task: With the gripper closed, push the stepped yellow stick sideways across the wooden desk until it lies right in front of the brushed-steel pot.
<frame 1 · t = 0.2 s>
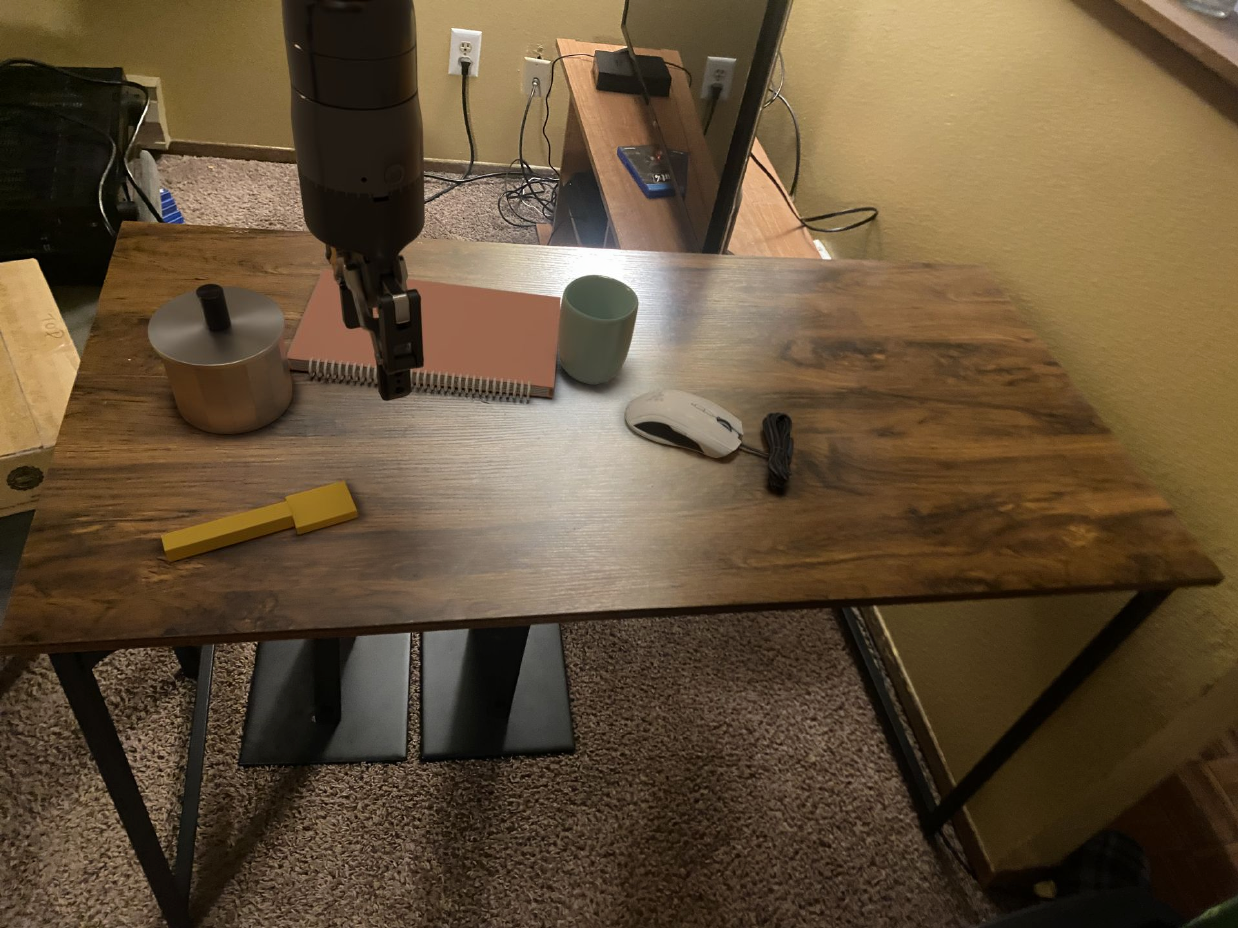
hand: (376, 359, 63), 18 cm above the table, tool pointing down, fingers open, 8 cm apart
pot: (236, 396, 82), on the table
notebook: (432, 342, 92), on the table
pot lid: (218, 328, 76), point 8 cm above the table, touching pot
cup: (589, 372, 93), on the table
computer mouse: (706, 440, 88), on the table
stepped yellow stick: (280, 522, 73), on the table
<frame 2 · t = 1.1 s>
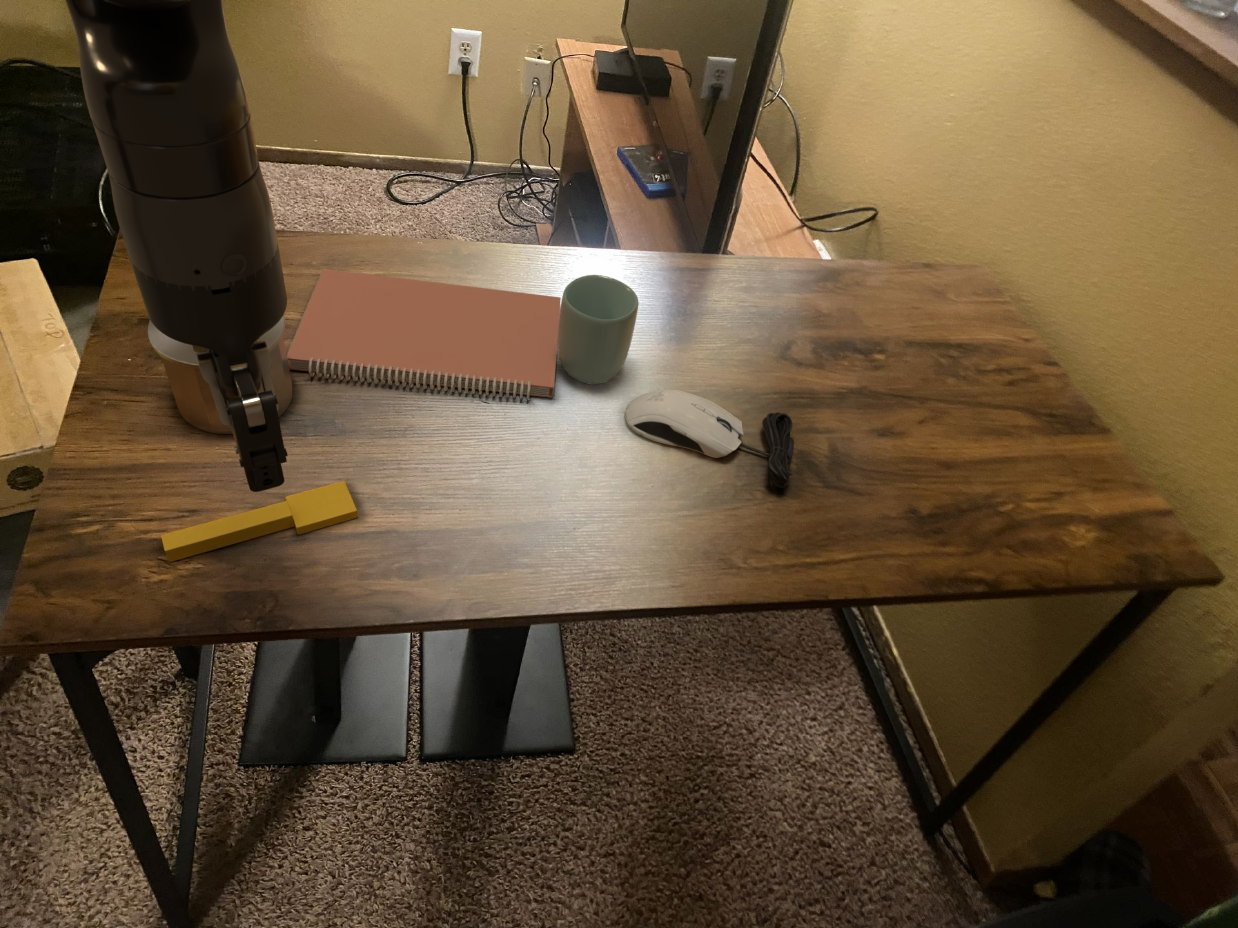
hand: (254, 448, 58), 16 cm above the table, tool pointing down, fingers open, 6 cm apart
nothing on the table moved.
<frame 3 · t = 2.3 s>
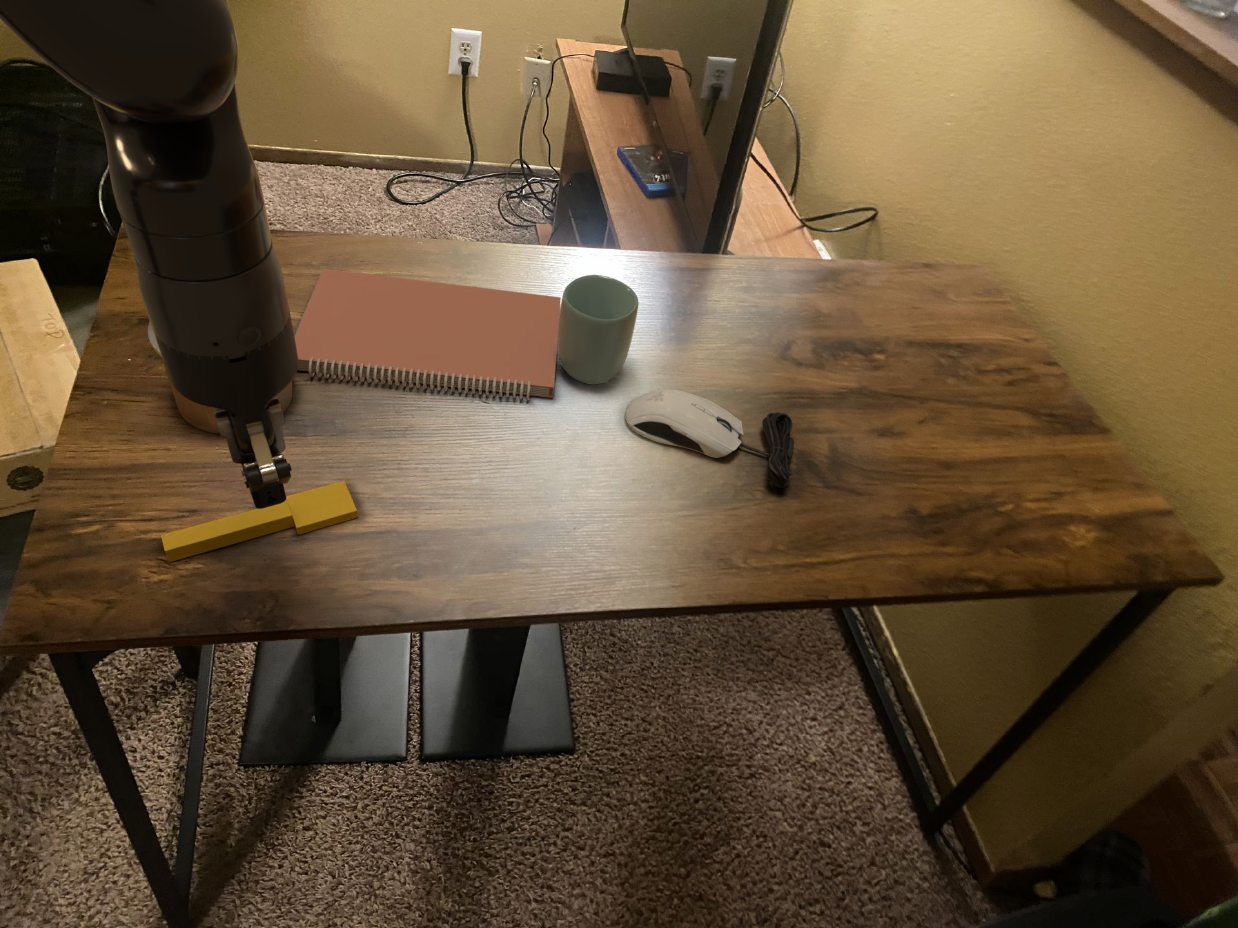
hand: (269, 499, 62), 10 cm above the table, tool pointing down, fingers closed
nothing on the table moved.
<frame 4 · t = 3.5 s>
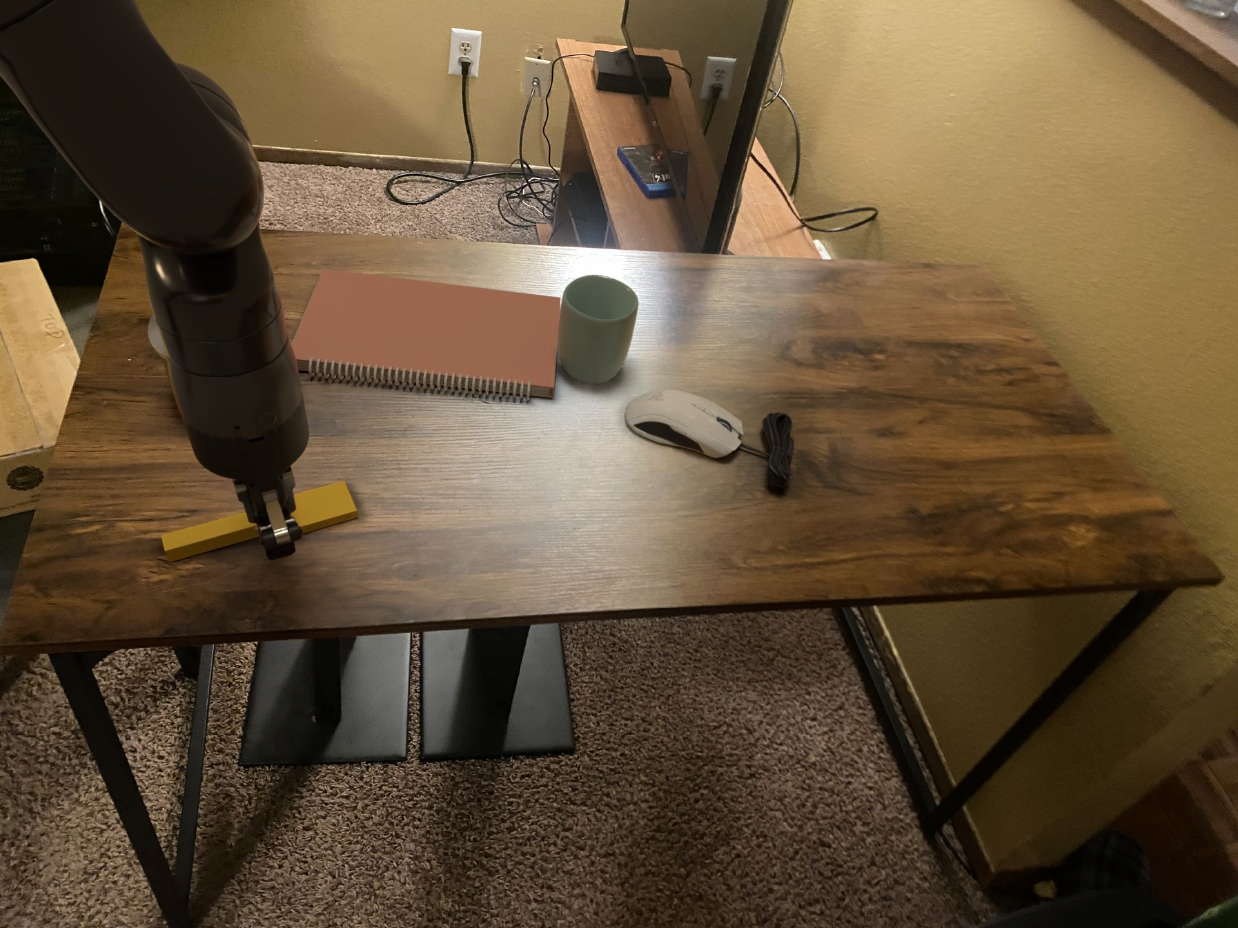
hand: (280, 550, 67), 3 cm above the table, tool pointing down, fingers closed
nothing on the table moved.
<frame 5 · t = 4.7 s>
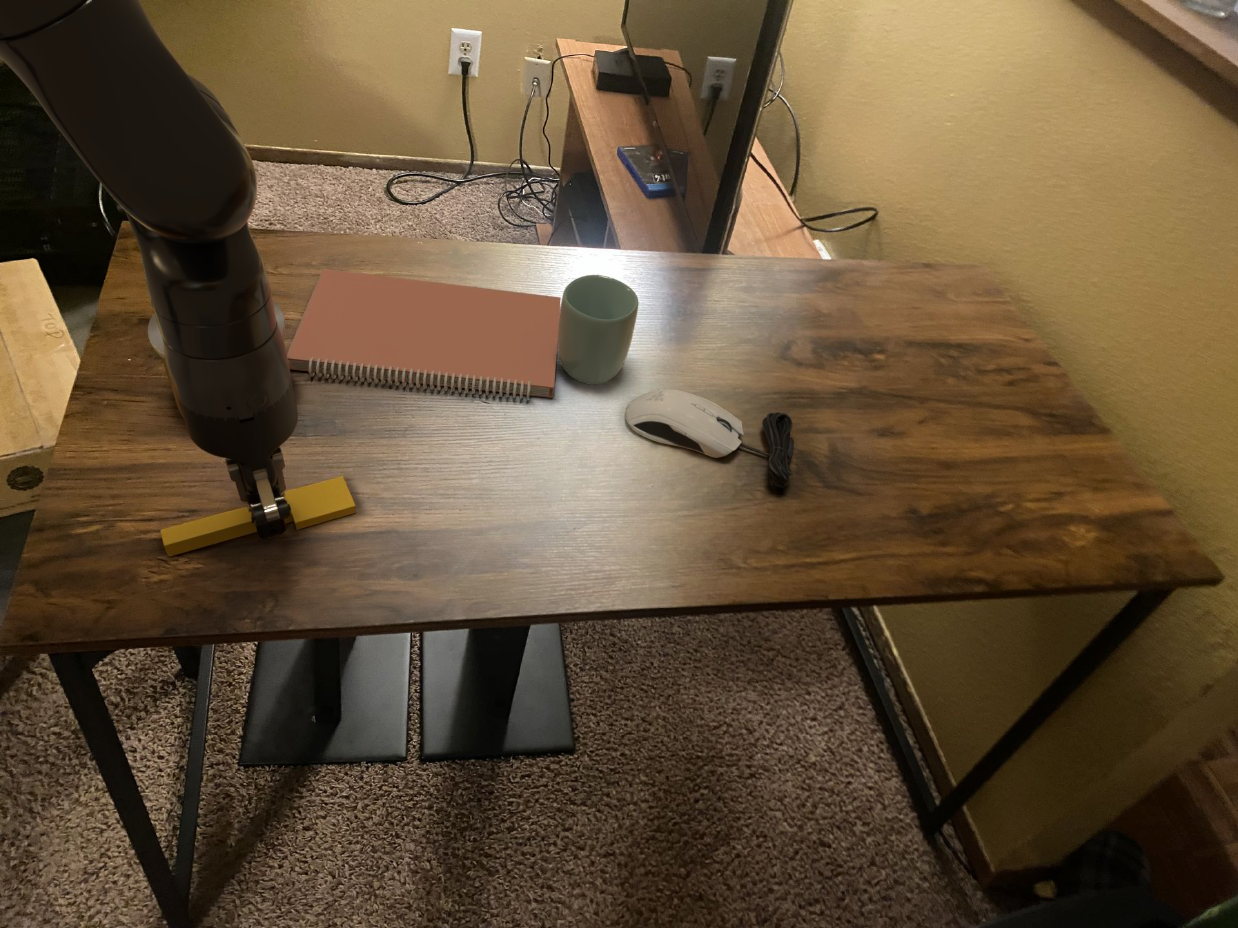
hand: (271, 530, 71), 1 cm above the table, tool pointing down, fingers closed
stepped yellow stick: (279, 517, 73), on the table, touching gripper
everything else where it was.
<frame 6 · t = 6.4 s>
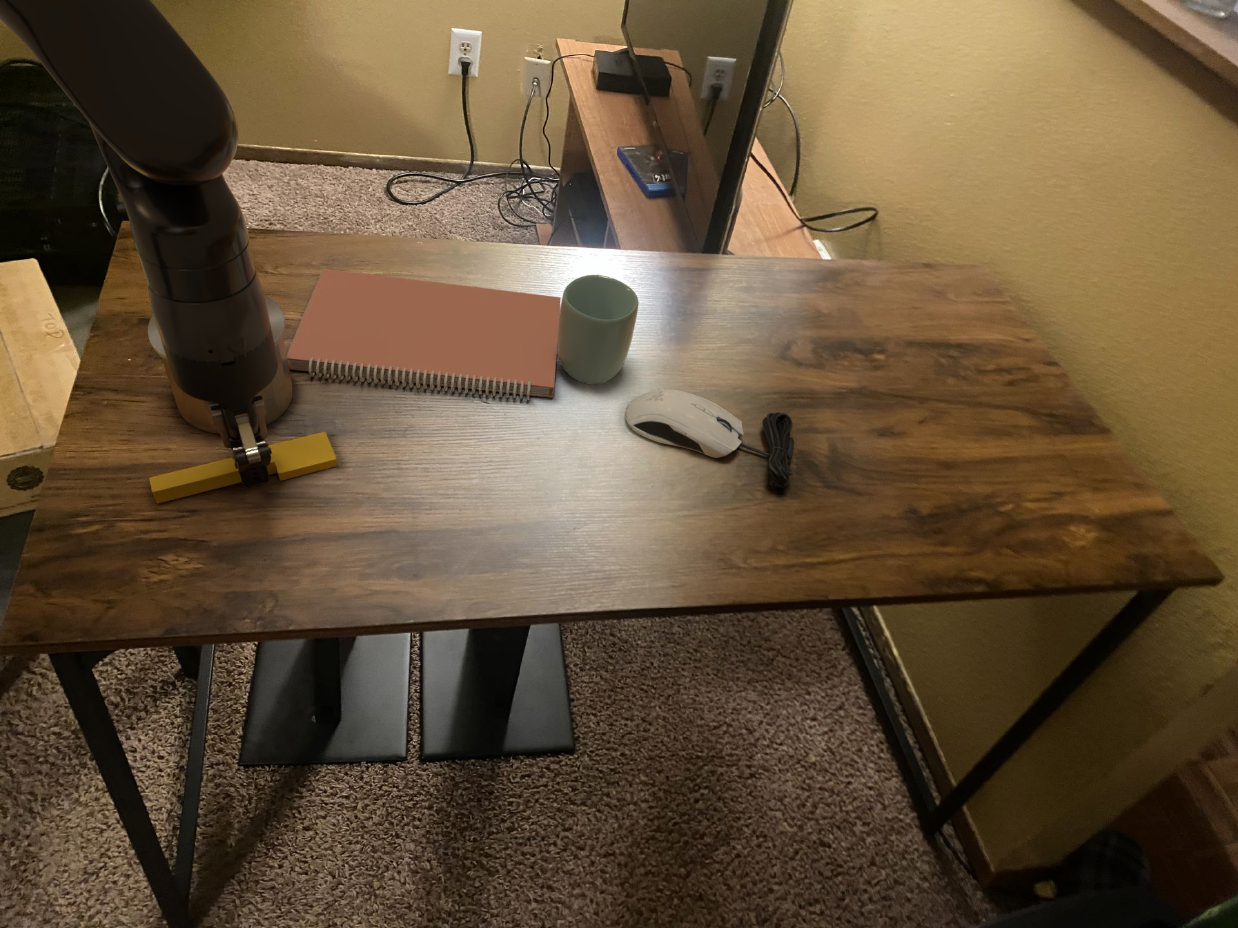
hand: (255, 479, 74), 1 cm above the table, tool pointing down, fingers closed
stepped yellow stick: (263, 469, 76), on the table, touching gripper
everything else where it was.
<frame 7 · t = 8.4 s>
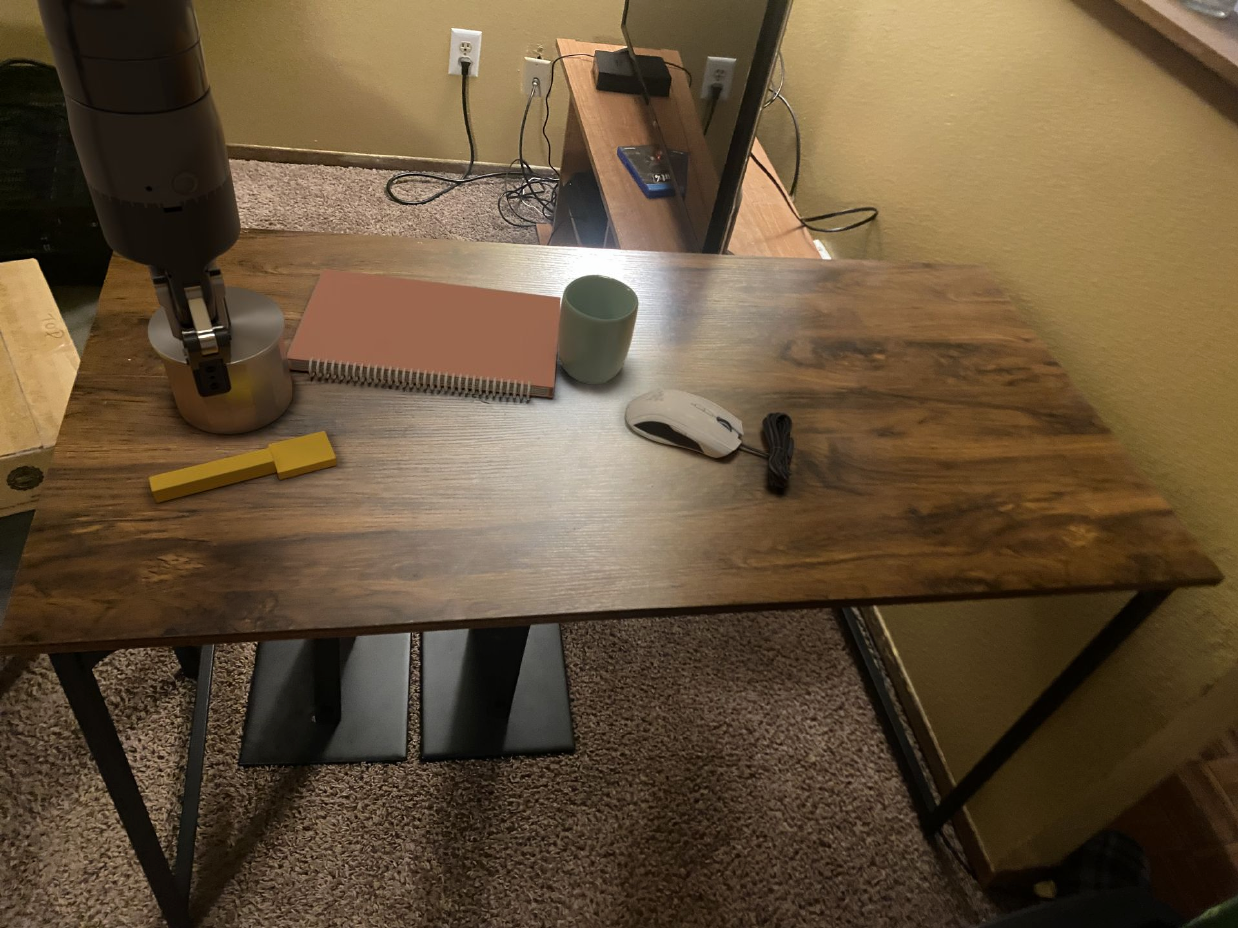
hand: (214, 388, 60), 16 cm above the table, tool pointing down, fingers closed
stepped yellow stick: (263, 468, 76), on the table
everything else where it was.
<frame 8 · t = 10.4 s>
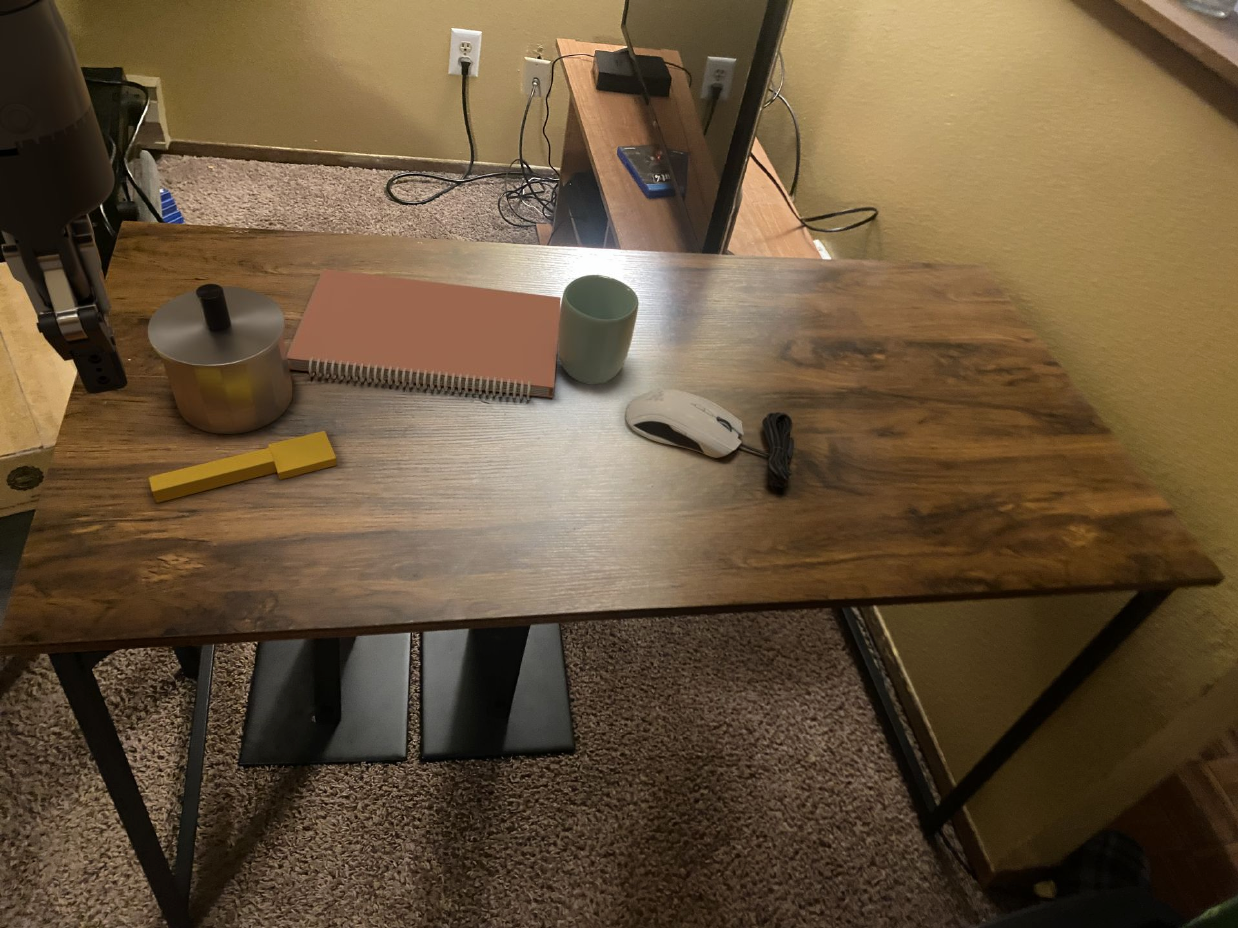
hand: (107, 383, 50), 23 cm above the table, tool pointing down, fingers closed
nothing on the table moved.
at the end: stepped yellow stick 10.3 cm from the pot (horizontally); stepped yellow stick moved 6.7 cm from its start; stepped yellow stick tilted 0° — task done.
